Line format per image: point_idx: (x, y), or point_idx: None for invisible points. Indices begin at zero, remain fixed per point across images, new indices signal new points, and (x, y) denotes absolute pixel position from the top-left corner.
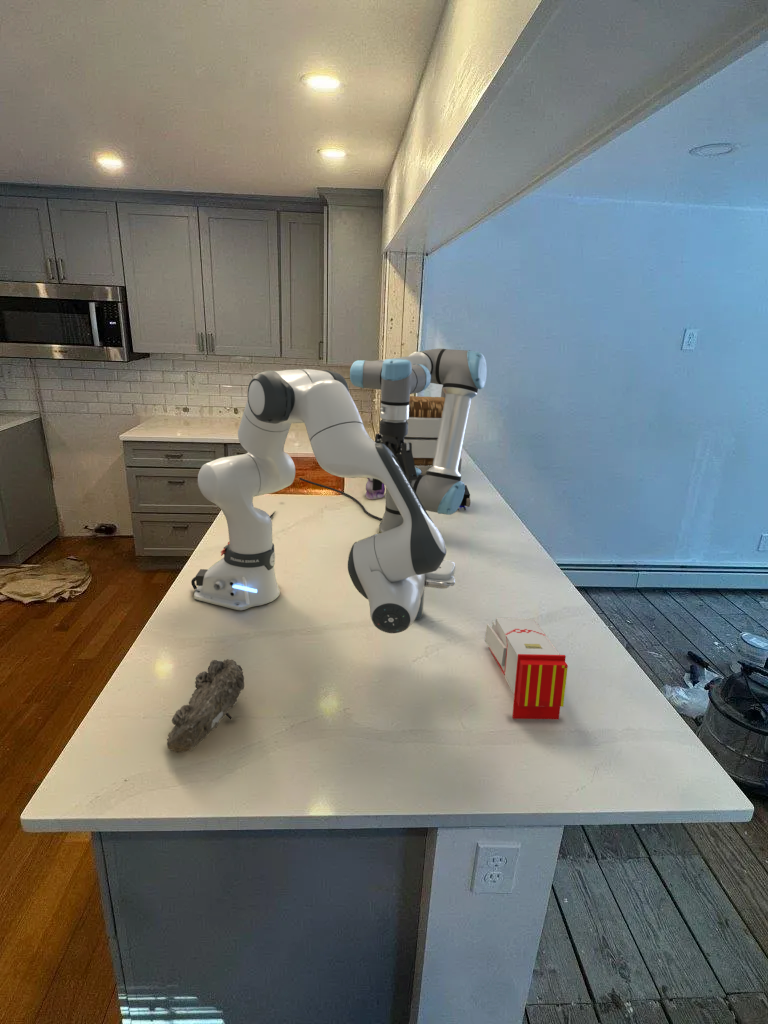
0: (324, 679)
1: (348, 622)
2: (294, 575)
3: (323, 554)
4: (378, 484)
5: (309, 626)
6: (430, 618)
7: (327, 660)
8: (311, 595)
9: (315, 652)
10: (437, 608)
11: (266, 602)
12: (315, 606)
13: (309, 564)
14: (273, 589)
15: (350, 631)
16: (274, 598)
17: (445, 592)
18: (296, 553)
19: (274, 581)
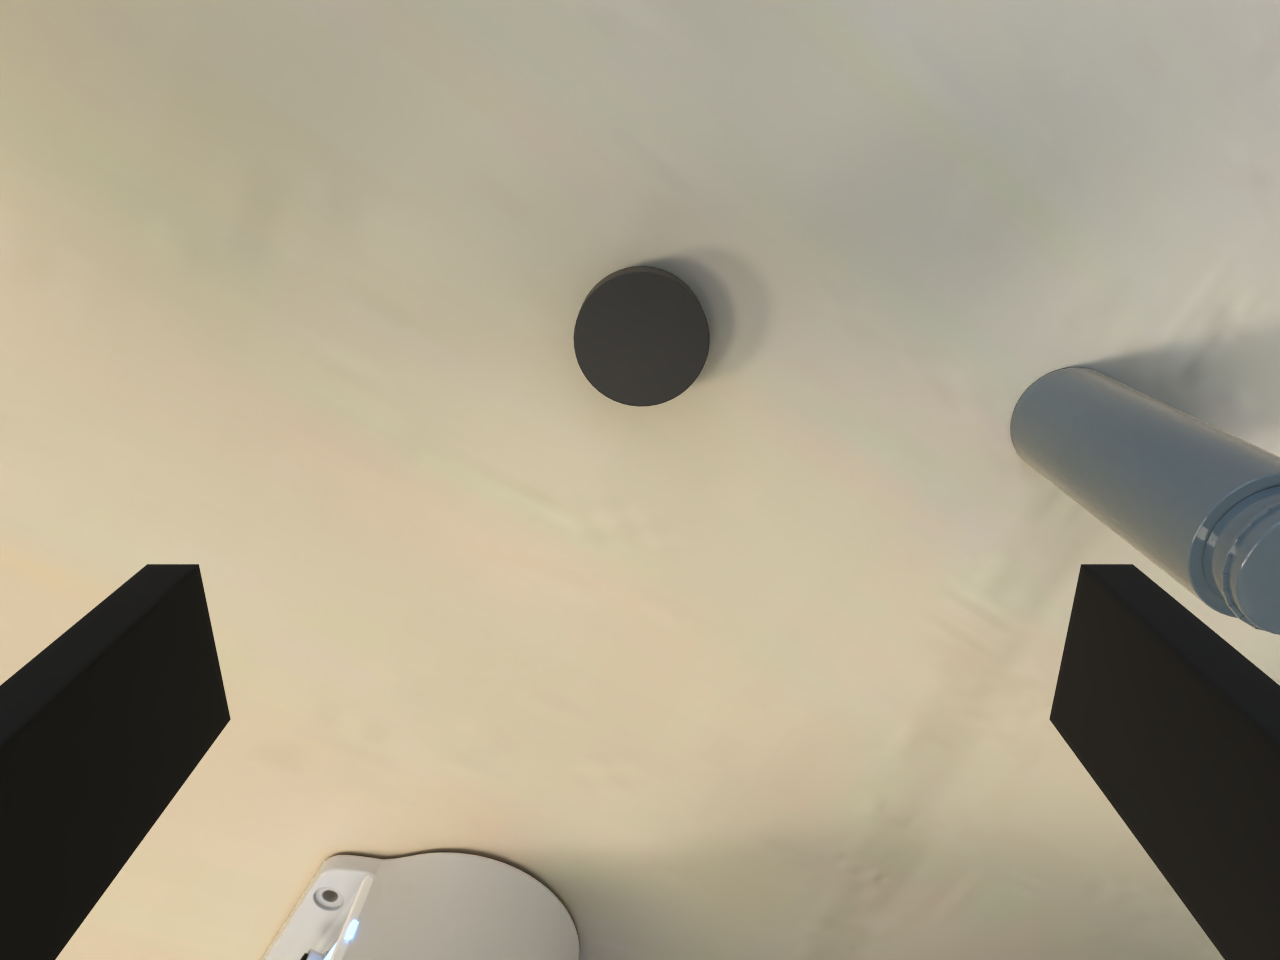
0: (1185, 949)
1: (918, 725)
2: (338, 737)
3: (100, 484)
4: (154, 703)
5: (845, 863)
6: (1161, 359)
7: (1099, 901)
8: (591, 754)
9: (1025, 913)
10: (1109, 246)
11: (576, 939)
12: (702, 780)
13: (225, 618)
14: (539, 939)
15: (987, 750)
16: (558, 905)
17: (992, 44)
18: (39, 619)
19: (512, 954)
